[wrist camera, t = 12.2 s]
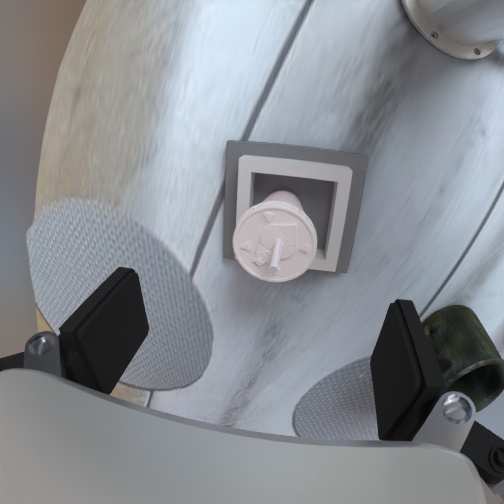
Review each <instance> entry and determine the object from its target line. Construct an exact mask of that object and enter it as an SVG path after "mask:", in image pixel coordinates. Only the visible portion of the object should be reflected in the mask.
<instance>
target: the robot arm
mask: <svg viewBox="0 0 504 504" xmlns="http://www.w3.org/2000/svg"><path fill="white" fill-rule="evenodd" d="M401 1H402V4H403V7H404V9H405V12H406V14H407V15H408V17H409V19H410V21H411V22H412V23H413V25H414V26H415V27H416V29H417V30H418V31H419V32H420V33H421V34H422V35H423V37H424V38H425V39H426V40H428V41H429V42H430V43H431V44H432V45H434V46H435V47H436V48H438V49H440V50H441V51H443V52H444V53H446V54H449V55H451V56H453V57H456V58H460V59H465V60H474V59H480V58H483V57H486V56H487V55H489V54H490V53H491V52H492V51H493V50H494V49H495V47H496V45H497V42H499V41H502V42H504V0H401ZM431 35H432V36H433V37H432V36H431ZM59 331H60V335H59V336H57V335H56V334H55V333H53V332H51V331H43V332H39V333H37V334H35V335H33V336H32V337H31V338H30V339H29V340H28V341H27V343H26V345H25V351H24V352H22V353H18V354H15V355H11V356H7V357H4V358H0V504H504V440H503V439H502V438H500V437H499V436H497V435H496V434H494V433H492V432H491V431H490V430H488V429H486V428H485V427H484V426H482V425H481V424H479V423H478V422H476V421H475V417H476V408H475V406H474V403H473V402H472V401H471V399H470V398H469V397H467V396H466V395H465V394H462V393H460V392H455V391H452V392H448V390H447V387H446V384H445V380H444V377H443V374H442V371H441V368H440V366H439V363H438V360H437V357H436V354H435V352H434V349H433V346H432V343H431V341H430V339H429V338H428V337H427V336H426V334H425V331H424V329H423V326H422V323H421V321H420V318H419V316H418V313H417V311H416V309H415V306H414V304H413V302H412V301H411V300H401V299H397V300H396V301H395V303H391V304H390V306H389V308H388V311H387V314H386V317H385V320H384V323H383V326H382V329H381V332H380V335H379V337H378V340H377V343H376V346H375V348H374V351H373V353H372V356H371V361H370V367H371V374H372V381H373V389H374V397H375V406H376V415H377V426H378V436H379V439H380V440H383V441H359V440H335V439H317V438H304V437H293V436H284V435H275V434H268V433H261V432H254V431H247V430H241V429H235V428H230V427H225V426H219V425H214V424H210V423H205V422H200V421H196V420H192V419H187V418H183V417H179V416H175V415H172V414H168V413H164V412H161V411H157V410H153V409H150V408H147V407H143V406H140V405H137V404H134V403H130V402H127V401H124V400H121V399H118V398H116V397H113V396H110V395H109V394H110V393H111V392H112V390H113V389H114V387H115V386H116V384H117V382H118V381H119V379H120V378H121V376H122V374H123V373H124V371H125V369H126V368H127V366H128V365H129V363H130V362H131V360H132V358H133V357H134V355H135V354H136V352H137V350H138V349H139V347H140V346H141V344H142V343H143V341H144V340H145V338H146V336H147V335H148V331H149V325H148V321H147V316H146V312H145V307H144V302H143V297H142V292H141V286H140V281H139V276H138V274H137V273H135V271H134V269H131V268H124V267H119V268H117V269H116V270H115V271H114V272H113V273H112V274H111V275H110V276H109V277H108V278H107V279H106V280H105V281H104V282H103V283H102V284H101V285H100V286H99V287H98V288H97V289H96V290H95V291H94V292H93V293H92V294H91V295H90V296H89V297H88V298H87V299H86V300H85V301H84V302H83V303H82V304H81V306H80V307H79V308H78V309H77V310H76V311H75V312H74V313H73V314H72V315H71V316H70V317H69V318H68V319H67V320H66V321H65V322H64V324H63V325H62V326H61V327H60V328H59Z"/></svg>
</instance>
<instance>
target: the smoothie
mask: <svg viewBox="0 0 504 504" xmlns="http://www.w3.org/2000/svg"><path fill="white" fill-rule="evenodd" d="M233 250H234V254H235V256H236V259H237V261H238V262H239V264H240V265H241V266H242V267H243V269H244V270H245V271H247V272H248V273H249V274H250V275H252V276H254V277H256V278H258V279H260V280H263V281H267V282H275V283H278V282H286V281H290V280H293V279H295V278H297V277H299V276H300V275H302V274H303V273H304V272H305V271H306V270H307V269H308V268H309V267H310V266H311V264H312V262H313V261H314V258H315V255H316V251H317V234H316V230H315V227H314V225H313V223H312V221H311V220H310V218H309V217H308V216H307V215H306V214H305V213H304V210H303V208H302V206H301V203H300V201H299V199H298V197H297V196H296V195H295V194H294V193H292V192H290V191H287V190H278V191H275V192H273V193H272V194H271V195H269V196H268V197H267V198H266V199H265V200H264V201H263V202H262V203H259V204H257V205H255V206H253V207H251V208H250V209H248V210H247V211H246V212H245V213H244V214H243V215H242V216H241V218H240V219H239V221H238V222H237V225H236V228H235V231H234V234H233Z"/></svg>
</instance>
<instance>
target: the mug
mask: <svg viewBox="0 0 504 504" xmlns="http://www.w3.org/2000/svg"><path fill="white" fill-rule="evenodd" d="M422 326H423V329H424V331H425V334H426V336H427V337H428V338H429V339H430V341H431V343H432V346H433V349H434V352H435V354H436V357H437V360H438V363H439V366H440V368H441V371H442V374H443V377H444V380H445V384H446V387H447V390H448V392H452V391H455V392H460V393H462V394H465V395H466V396H467V397H469V398H470V399H471V401H472V402H473V403H474V406H475V408H476V413H477V412H479V411H480V410H482V409H483V408H485V407H486V406H488V405H489V404H490V403H491V402H493V401H494V400H495V399H496V398H497V397H498V396H499V395H500V394H501V392H502V391H503V390H504V360H503V359H502V358H501V356H500V354H499V353H498V351H497V349H496V347H495V346H494V344H493V342H492V340H491V339H490V337H489V335H488V334H487V332H486V330H485V329H484V327H483V325H482V324H481V322H480V321H479V319H478V317H477V316H476V314H475V313H474V311H473V310H472V309H470V308H469V307H466V306H461V305H452V306H448V307H444V308H442V309H440V310H438V311H437V312H435V313H434V314H432V315H431V316H430V317H429V318H428V319H427V320H426V321H425V322H424V323H423V325H422Z"/></svg>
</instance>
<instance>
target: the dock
mask: <svg viewBox="0 0 504 504" xmlns="http://www.w3.org/2000/svg"><path fill="white" fill-rule="evenodd" d="M367 160H368V156H366V155H362V154H356V153H349V152H343V151H336V150H329V149H321V148H313V147H305V146H296V145H287V144H276V143H264V142H251V141H235V140H229V141H227V149H226V176H225V207H224V251H223V258H228V259H235V260H237V259H236V256H235V254H234V250H233V234H234V231H235V228H236V225H237V222H238V221H239V219H240V218H241V216H242V215H243V214H244V213H245V212H246V211H247V210H248V209H250V208H251V207H253V206H255V205H257V204H259V203H262V202H263V201H264V200H265V199H266V198H267V197H268V196H269V195H271V194H272V193H273V192H275V191H278V190H287V191H290V192H292V193H294V194H295V195H296V196H297V197H298V199H299V201H300V203H301V206H302V208H303V210H304V213H305V214H306V215H307V216H308V217H309V218H310V220H311V221H312V223H313V225H314V227H315V230H316V234H317V251H316V255H315V258H314V261H313V262H312V264H311V266H310V267H309V268H308V269H314V270H322V271H331V272H342V273H347V270H348V266H349V261H350V257H351V252H352V247H353V242H354V237H355V232H356V227H357V222H358V216H359V211H360V205H361V199H362V193H363V187H364V181H365V174H366V167H367Z"/></svg>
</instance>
